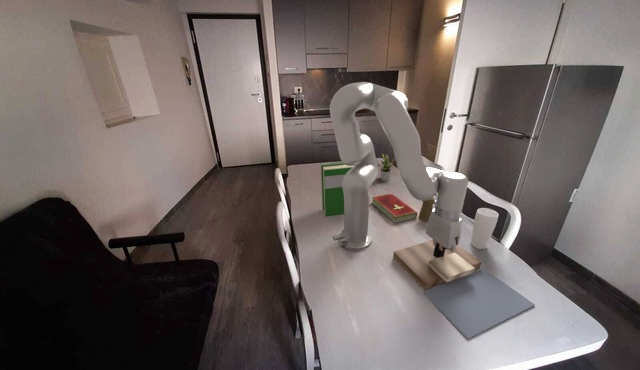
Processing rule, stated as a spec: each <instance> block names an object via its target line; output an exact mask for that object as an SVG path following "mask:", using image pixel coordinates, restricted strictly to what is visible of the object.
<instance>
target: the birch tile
mask: <svg viewBox="0 0 640 370" xmlns="http://www.w3.org/2000/svg"><path fill="white" fill-rule="evenodd" d="M428 265H429V266H430V267H431V268H432V269H433V270H434V271H435V272H436V273H437V274H438V275H439V276H440V277H441V278H442V279H444V280H445V281H446V282H449V281H452V280H455V279H458V278H461V277H463V276H466V275H469V274H472V273H474V271H476V270H475V268H474V267H473V266H472V265H471V264H469V263H468V262H467V261H465V260H464V259H463V258H462V257H460V256H459V255H458V254H456V253H452V254H449V255H446V256H442V257H439V258H436V259H433V260H430V261H429V264H428ZM446 282H445V283H446Z"/></svg>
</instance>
